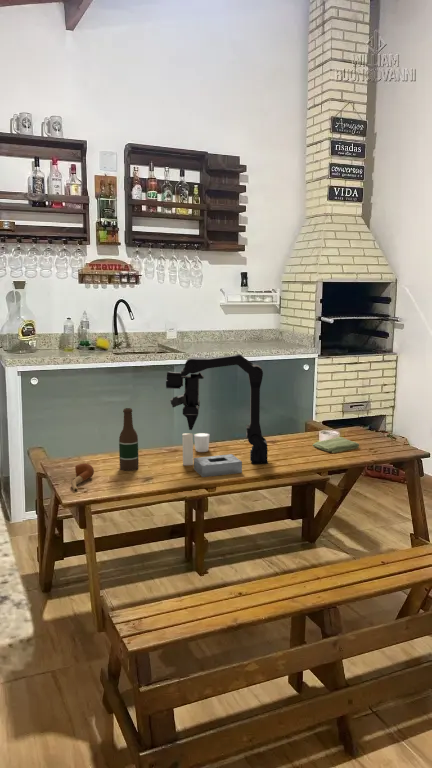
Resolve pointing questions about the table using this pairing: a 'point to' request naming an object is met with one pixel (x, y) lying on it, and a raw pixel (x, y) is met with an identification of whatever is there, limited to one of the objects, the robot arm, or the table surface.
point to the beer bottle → (128, 443)
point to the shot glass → (201, 442)
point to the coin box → (217, 465)
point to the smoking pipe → (82, 474)
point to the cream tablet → (188, 449)
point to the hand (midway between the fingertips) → (191, 427)
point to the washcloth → (336, 445)
